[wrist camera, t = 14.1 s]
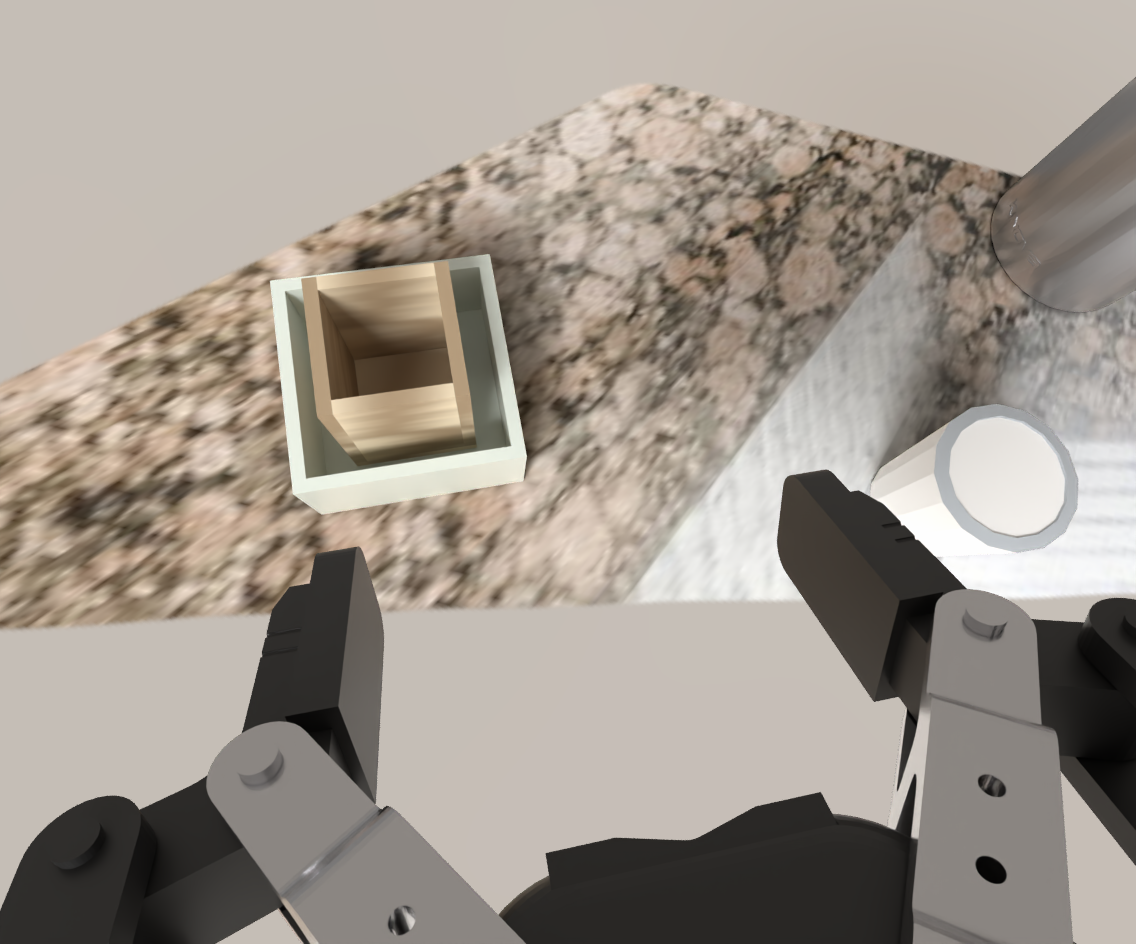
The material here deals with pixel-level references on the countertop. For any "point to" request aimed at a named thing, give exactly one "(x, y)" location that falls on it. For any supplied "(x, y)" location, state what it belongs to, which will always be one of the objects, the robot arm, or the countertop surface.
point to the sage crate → (344, 486)
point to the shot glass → (982, 484)
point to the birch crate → (389, 362)
